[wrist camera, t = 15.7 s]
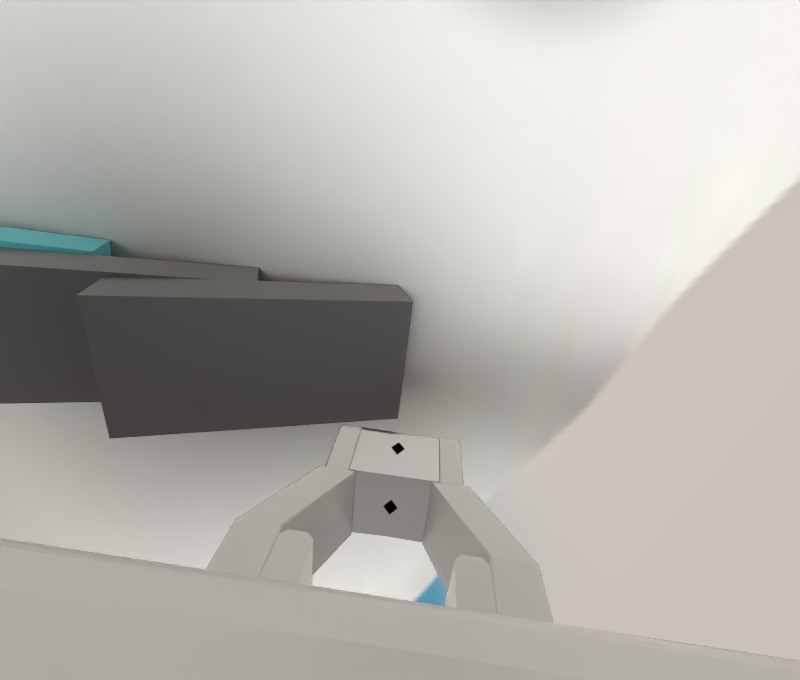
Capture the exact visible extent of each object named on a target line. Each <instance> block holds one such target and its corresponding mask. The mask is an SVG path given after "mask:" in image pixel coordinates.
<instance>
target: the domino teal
mask: <svg viewBox="0 0 800 680" xmlns="http://www.w3.org/2000/svg"><path fill="white" fill-rule="evenodd" d="M0 247H5V248H17V249H30V250H42V251H55V252H67V253H80V254H92V255H105V256H111V246H110V240H106V239H98V238H90V237H82V236H74V235H66V234H58V233H50V232H42V231H35V230H27V229H19V228H11V227H3V226H0Z"/></svg>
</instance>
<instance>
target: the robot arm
mask: <svg viewBox="0 0 800 680" xmlns="http://www.w3.org/2000/svg"><path fill="white" fill-rule="evenodd" d="M351 532H357V533H366V534H374V535H383V536H390V537H395V538H401V539H407V540H413V541H418V542H423V546H424V548H425V550H426V552H427V554H428V556H429V558H430V560H431V561H432V563H433V565H434V567H435V569H436V571H437V573H438V575H439V577H440V579H441V581H442V583H443V585H444V587H445V588H446V590H447V592H448V593H447V598H446V603H445V606H440V605H434V604H428V603H421V602H414V601H408V600H401V599H395V598H388V597H382V596H375V595H369V594H362V593H356V592H349V591H343V590H336V589H329V588H323V587H316V586H312V575H313V574H314V573H315V572H316V571H317V570H318V569H319V568H320V567H321V565H322V564H323V563H324V562H325V561H326V560H327V559H328V558H329V557H330V556H331V555H332V554H333V553H334V552H335V551H336V550H337V549H338V547H339V546H340V545H341V544H342V543H343V542H344V541H345V540H346V539H347V538H348V537H349V536H350V535H351ZM0 680H800V661H799V660H793V659H786V658H780V657H773V656H767V655H760V654H754V653H747V652H740V651H733V650H728V649H720V648H715V647H707V646H702V645H695V644H688V643H682V642H675V641H668V640H662V639H656V638H649V637H643V636H636V635H629V634H623V633H616V632H610V631H603V630H596V629H590V628H584V627H577V626H570V625H564V624H557V623H554V622H553V618H552V614H551V610H550V606H549V602H548V599H547V595H546V591H545V587H544V583H543V579H542V575H541V571H540V567H539V565H538V563H537V562H536V561H535V560H534V559H533V558H532V557H531V555H530V554H529V553H528V552H527V551H526V550H525V549H524V548H523V547H522V545H521V544H520V543H519V542H518V541H517V540H516V539H515V537H514V536H513V535H512V534H511V533H510V532H509V531H508V530H507V528H506V527H505V526H504V525H503V524H502V523H501V522H500V521H499V519H498V518H497V517H496V516H495V515H494V514H493V513H492V512H491V510H490V509H489V508H488V507H487V506H486V505H485V504H484V502H483V501H482V500H481V499H480V498H479V497H478V496H477V495H476V493H475V492H474V491H473V490H472V489H471V488H470V487H467V486H464V483H463V472H462V460H461V449H460V442H459V440H455V439H446V438H431V437H424V436H416V435H408V434H400V433H396V432H390V431H383V430H377V429H371V428H364V427H363V428H361V427H357V426H350V425H342V426H341V427H340V430H339V432H338V435H337V438H336V440H335V443H334V445H333V448H332V451H331V453H330V456H329V458H328V461H327V463H326V466H325V467H323V466H319V467H317V468H316V469H314V470H312V471H311V472H309V473H308V474H306V475H305V476H303V477H301V478H300V479H298V480H297V481H295V482H294V483H292V484H290V485H289V486H287V487H286V488H284V489H283V490H281V491H279V492H278V493H276V494H275V495H273V496H272V497H270V498H268V499H267V500H265V501H264V502H262V503H261V504H259V505H257V506H256V507H254V508H253V509H251V510H250V511H248V512H246V513H245V514H243V515H242V516H240V517H239V518H237V519H235V521H234V523H233V524H232V526H231V528H230V530H229V531H228V533H227V535H226V536H225V538H224V540H223V541H222V543H221V545H220V546H219V548H218V550H217V551H216V553H215V555H214V557H213V558H212V560H211V562H210V563H209V565H208V567H207V568H206V570H205V569H199V568H192V567H186V566H179V565H173V564H166V563H159V562H153V561H146V560H140V559H133V558H127V557H120V556H114V555H107V554H101V553H94V552H88V551H81V550H74V549H68V548H61V547H55V546H48V545H42V544H35V543H29V542H22V541H16V540H9V539H3V538H0Z"/></svg>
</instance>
